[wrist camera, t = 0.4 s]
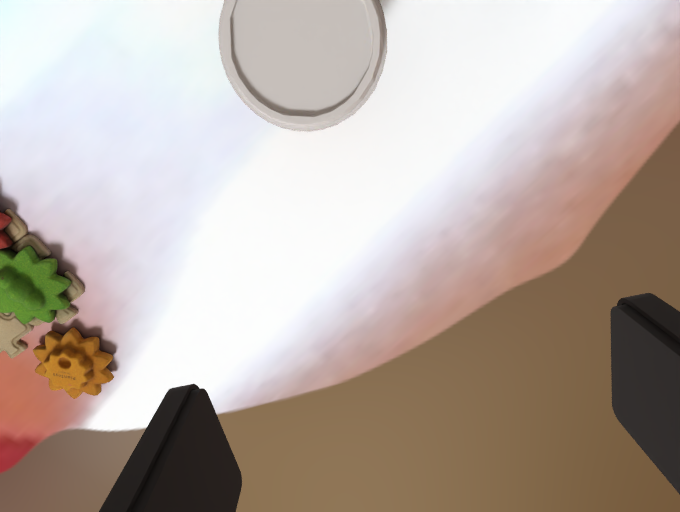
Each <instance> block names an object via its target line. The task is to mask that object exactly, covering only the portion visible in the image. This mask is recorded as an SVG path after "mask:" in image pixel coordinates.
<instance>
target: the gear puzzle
mask: <svg viewBox="0 0 680 512" xmlns="http://www.w3.org/2000/svg"><path fill="white" fill-rule="evenodd" d="M50 254H51V251H50V250H49V249H48V248H47V247H46V246H45V245H44V244H43V243H42V242H41V241H40V240H39V239H38V238H37V237H35V236H34V235H29V234H28V229H27V227H26V225H25V224H24V223H23V222H22V221H21V220H20V218H19V217H18V216H17V215H16V214H15V213H14V212H13V211H12V210H11V209H7V210H6V211H5V212H4V214H3V213H1V212H0V353H1V352H2V351H6V352H7V354H8V355H9V357H10V358H14V357H15V356H17V355H18V354H20V353H21V352H23V351H24V350H26V349H27V348H28V346H27V345H26V344H24V343H22V342H21V341H20V339H21V338H22V337H23V336H25V335H26V334H28V333H29V332H30V331H31V330H33V328H34V326H38V325H40V324H42V323H43V322H48V323H50V322H52V321H53V320H54V319H55V317H56V318H57V320H58V322H59V323H60V324H64V323H65V322H67V321H68V320H69V319H71V318H72V317H73V316H75V315H76V314H77V313H78V311H77V310H76V309H75V308H73V307H71V306H70V303H71V302H73V301H74V300H76V299H77V298H78V297H79V296H81V295H82V294H83V293H84V292H85V288H84V286H83V284H82V283H81V282H80V281H79V280H78V279H77V278H76V277H75V276H74V275H73V274H72V273H71V272H70V271H66V272H65V273H64V275H63V276H59V275H57V274H56V271H57V266H58V265H57V260H56V259H53V258H48V259H44V257H46V256H49V255H50ZM33 352H34V354H35V356H36V357H37V358H38V359H39V360H40V361H41V363H40V364H39V365H38V366H37V368H36V369H35V372H36V373H38V374H39V375H41V376H44V377H47V378H49V387H50V389H51V390H60V389H64V390H65V391H66V392H67V393H68V394H69V395H70V396H71V397H72V398H73V399H75V398H77V397H78V396H80V395H81V394H82V392H85V393H87V394H90V395H98V394H99V393H100V392H101V384H103V383H107V382H110V381H111V380H112V379H113V378H114V376H113V374H112V373H111V372H110V371H109V370H108V369H107V368H106V366H107V365H108V364H109V363H110V362H111V361H112V359H113V356H112V355H111V354H108V353H106V352H102V351H100V350H99V338H98V337H89V338H86V339H84V338H82V336H81V334H80V333H79V332H78V331H77V329H75V328H74V327H72V328H71V329H70V330H69V331H68V332H66V333H65V335H64V336H62V335H60V334H59V333H56V332H54V331H49V332H48V333H47V334H46V336H45V344H44V345H39V346H37V347H36V348H34V349H33Z"/></svg>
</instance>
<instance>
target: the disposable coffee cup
mask: <svg viewBox="0 0 680 512" xmlns="http://www.w3.org/2000/svg"><path fill="white" fill-rule="evenodd" d="M219 49H220V54H221V59H222V63H223V66H224V69H225V72H226V75H227V77H228V79H229V81H230V83H231V85H232V87H233V88H234V90H235V92H236V93H237V95H238V96H239V97H240V98H241V100H242V101H243V102H244V103H245V104H246V105H247V106H248V107H249V108H250V109H251V110H252V111H253V112H254V113H255V114H257V115H258V116H260V117H261V118H263V119H264V120H266V121H267V122H270V123H272V124H274V125H277V126H279V127H281V128H285V129H290V130H294V131H315V130H322V129H325V128H328V127H331V126H334V125H337V124H339V123H341V122H342V121H344V120H345V119H347V118H349V117H350V116H352V115H353V114H355V113H356V112H357V111H358V110H359V109H360V108H361V107H362V106H363V105H364V104H365V103H366V101H367V100H368V98H369V97H370V95H371V94H372V93H373V91H374V90H375V88H376V85H377V83H378V81H379V78H380V76H381V74H382V71H383V67H384V62H385V58H386V53H387V29H386V24H385V18H384V13H383V10H382V7H381V5H380V2H379V0H224V4H223V8H222V12H221V16H220V22H219Z"/></svg>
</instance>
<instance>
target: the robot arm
mask: <svg viewBox="0 0 680 512" xmlns="http://www.w3.org/2000/svg"><path fill="white" fill-rule="evenodd" d="M611 367H612V368H611V370H612V407H613V410H614V413H615V415H616V417H617V419H618V420H619V422H620V423H621V424H622V425H623V427H624V428H625V429H626V430H627V431H628V433H629V434H630V435H631V436H632V438H633V439H634V440H635V441H636V442H637V444H638V445H639V446H640V447H641V448H642V450H643V451H644V452H645V453H646V454H647V456H648V457H649V458H650V459H651V460H652V461H653V463H654V464H655V465H656V466H657V468H658V469H659V470H660V471H661V472H662V474H663V475H664V476H665V477H666V478H667V480H668V481H669V482H670V483H671V484H672V485H673V487H674V488H675V489H676V490H677V492H678V493H679V494H680V312H679V311H678V310H676V309H675V308H673V307H672V306H670V305H669V304H667V303H666V302H664V301H663V300H661V299H660V298H658V297H657V296H655V295H653V294H651V293H645V294H640V295H635V296H630V297H625V298H621V299H620V300H619V301H618V303H617V306H615V307H613V308H612V309H611ZM241 486H242V477H241V472H240V469H239V467H238V464H237V462H236V460H235V457H234V455H233V453H232V450H231V448H230V446H229V443H228V441H227V439H226V436H225V434H224V431H223V429H222V427H221V424H220V422H219V420H218V417H217V415H216V412H215V410H214V408H213V405H212V403H211V400H210V398H209V396H208V393H207V392H206V390H205V389H199V387H198V386H197V385H195V384H191V385H186V386H181V387H176V388H172V389H169V391H168V392H167V393H166V395H165V397H164V399H163V400H162V402H161V404H160V406H159V407H158V409H157V411H156V413H155V414H154V416H153V418H152V420H151V421H150V423H149V425H148V427H147V428H146V430H145V432H144V434H143V435H142V437H141V439H140V441H139V442H138V444H137V446H136V448H135V450H134V451H133V453H132V455H131V456H130V458H129V460H128V462H127V464H126V465H125V467H124V469H123V471H122V472H121V474H120V476H119V477H118V479H117V481H116V483H115V485H114V486H113V488H112V490H111V491H110V493H109V495H108V497H107V498H106V500H105V502H104V504H103V505H102V507H101V509H100V511H99V512H236V508H237V503H238V499H239V495H240V491H241Z"/></svg>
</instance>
